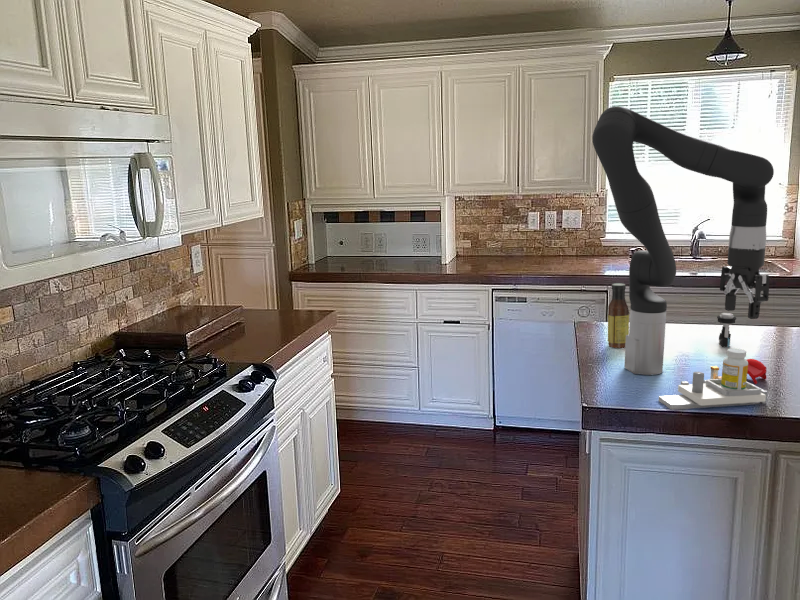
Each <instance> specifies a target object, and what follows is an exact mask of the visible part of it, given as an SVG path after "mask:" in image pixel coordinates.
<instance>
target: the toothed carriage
mask: <svg viewBox="0 0 800 600" xmlns="http://www.w3.org/2000/svg"><path fill="white" fill-rule="evenodd" d="M721 380H722V375H721V376H720V375H718V376H715V379H710V378H709V379H705V373H704V372H702V371H693V372H692V381H691V383H690V382H689V381H686V380H685V381H681V382H680V384H678V387H677V392H679V393H680V394H681V395H685V396H686V397H688V398H689V399H691V400H693V401H694V402H696V403H697V404H699V405H700V406H703V405H719V404H735V403H750V402H759V403H760V402H765V400H766V395H765V394H763V393H761V389H762V388H761V387H759V386H757V385H756V384H753V383H751V382H748V381H747V380H746V389H745V390H730V391H728V390H726V389H724V388H722V387H721ZM760 388H761V389H760Z"/></svg>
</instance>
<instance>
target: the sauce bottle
mask: <svg viewBox="0 0 800 600" xmlns="http://www.w3.org/2000/svg"><path fill="white" fill-rule="evenodd" d="M611 289H612V290H611V292H612V295H611V300H610V302H609V303H608V305H607V306H608V308H607V309H608V311H607V312H608V313H607V343H608V345H607V346H608V347H610V348H613V349H620V350H621V349H625V344H626V335H629V326H630V311H629V306H628V304H627V301H626V284H625V283H621V282H620V283H619V282H618V283H612V284H611Z"/></svg>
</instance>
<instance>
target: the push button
mask: <svg viewBox="0 0 800 600" xmlns="http://www.w3.org/2000/svg"><path fill="white" fill-rule="evenodd" d="M716 319H717V322H718V323H719V324H721V325H722V329H721V332H719V335H718V345H719V346H722V348H730V345H731V336H732V335H731V333H730V325H733V324H735V323H736V320H737V317H735V316H734V314H733V313H729V312H721V313H720V314H719V315H717V316H716Z"/></svg>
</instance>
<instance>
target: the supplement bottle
mask: <svg viewBox="0 0 800 600" xmlns="http://www.w3.org/2000/svg"><path fill="white" fill-rule="evenodd" d="M746 357H747V350H745V349H741V348H738V347H737V348H735V347H733V348H730V347H729V348H728V349H727V350H726V357H724V358H723V361H722V371H721V377H722V380H721V387H722V388H724V389H726V390H728V391H730V390H745V389H746V381H747V378H748V374H747V371H748V361H747V359H746Z"/></svg>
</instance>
